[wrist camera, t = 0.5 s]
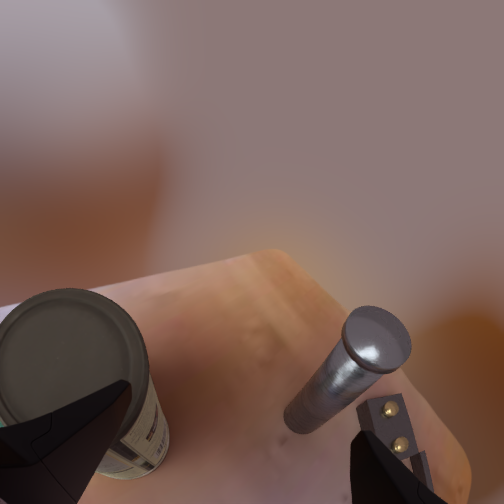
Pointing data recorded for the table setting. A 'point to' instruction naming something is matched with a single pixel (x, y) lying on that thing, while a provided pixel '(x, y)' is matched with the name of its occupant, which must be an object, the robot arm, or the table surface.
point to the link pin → (350, 367)
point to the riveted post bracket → (395, 432)
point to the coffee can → (81, 371)
